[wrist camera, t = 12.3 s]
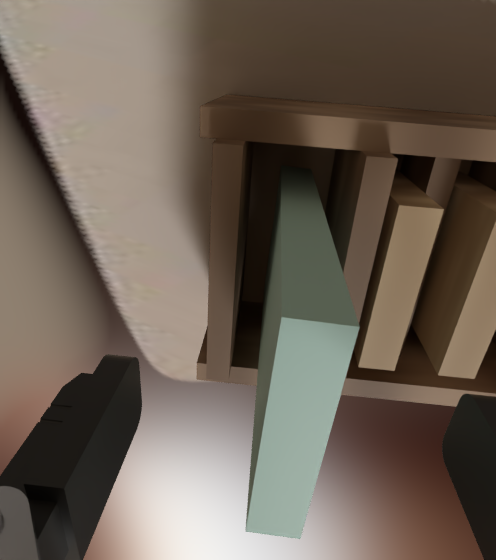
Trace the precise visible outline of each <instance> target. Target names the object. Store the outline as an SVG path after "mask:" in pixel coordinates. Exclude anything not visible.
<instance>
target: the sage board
mask: <svg viewBox="0 0 496 560" xmlns="http://www.w3.org/2000/svg"><path fill="white" fill-rule="evenodd" d="M359 328H360V326H359V323H358V320H357V317H356V313H355V310H354V307H353V304H352V300H351V297H350V294H349V291H348V288H347V284H346V281H345V278H344V275H343V271H342V268H341V265H340V262H339V258H338V255H337V252H336V249H335V245H334V242H333V239H332V236H331V232H330V229H329V226H328V223H327V219H326V216H325V213H324V210H323V206H322V203H321V200H320V197H319V193H318V190H317V187H316V184H315V180H314V177H313V174H312V171H311V169H307V168H298V167H290V166H281V170H280V178H279V185H278V192H277V199H276V206H275V214H274V221H273V228H272V235H271V243H270V250H269V257H268V264H267V271H266V279H265V286H264V298H263V311H262V324H261V337H260V350H259V363H258V376H257V389H256V403H255V415H254V416H255V417H254V429H253V441H252V454H251V467H250V480H249V493H248V508H247V519H246V532H253V533H262V534H269V535H275V536H283V537H290V538H298V539H300V538H301V534H302V531H303V527H304V523H305V520H306V516H307V513H308V509H309V506H310V502H311V499H312V495H313V491H314V488H315V484H316V481H317V477H318V473H319V470H320V466H321V463H322V459H323V456H324V452H325V449H326V445H327V442H328V438H329V434H330V431H331V427H332V424H333V420H334V417H335V413H336V409H337V406H338V402H339V399H340V395H341V392H342V388H343V385H344V381H345V378H346V374H347V370H348V367H349V363H350V360H351V356H352V353H353V349H354V345H355V342H356V338H357V335H358V331H359Z"/></svg>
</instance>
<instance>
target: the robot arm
mask: <svg viewBox="0 0 496 560" xmlns="http://www.w3.org/2000/svg"><path fill="white" fill-rule="evenodd" d="M141 407H142V398H141V384H140V371H139V361H138V359H137V358H136V357H127V356H118V355H109V354H108V355H105V356H104V357H103V359H102V360H101V362H100V364H99V365H98V367H97V368H96V370H95V371H94V373H93V374H87V373H81V374H79V375H78V376H77V377H76V378H74V379H73V380H71V381H70V382H69V383H67V384H66V385H65V386H63V387H62V389H61V390H60V392H59V393H58V394H57V396H56V397H55V399H54V400H53V402H52V403H51V406H50V408H48V409H47V410H46V412H45V413H44V414H43V416H42V417H41V420H40V422H38V423H37V424H36V426H35V427H34V429H33V430H32V432H31V433H30V434H29V436H28V437H27V439H26V440H25V441H24V443H23V444H22V446H21V447H20V449H19V450H18V451H17V453H16V454H15V456H14V457H13V459H12V460H11V461H10V463H9V464H8V466H7V467H6V468H5V470H4V471H3V473H2V474H1V476H0V560H83V558H84V556H85V553H86V551H87V549H88V546H89V544H90V541H91V539H92V536H93V534H94V532H95V529H96V527H97V524H98V522H99V519H100V517H101V514H102V512H103V510H104V507H105V505H106V502H107V500H108V498H109V495H110V493H111V490H112V488H113V485H114V483H115V481H116V478H117V476H118V473H119V471H120V469H121V466H122V464H123V461H124V459H125V457H126V454H127V451H128V449H129V447H130V444H131V442H132V440H133V437H134V435H135V432H136V430H137V427H138V424H139V420H140V416H141V409H142V408H141ZM442 445H443V446H442V452H443V459H444V462H445V465H446V467H447V470H448V472H449V475H450V477H451V480H452V482H453V485H454V487H455V490H456V492H457V495H458V497H459V499H460V502H461V504H462V507H463V509H464V512H465V514H466V516H467V519H468V521H469V524H470V526H471V529H472V531H473V533H474V536H475V538H476V541H477V543H478V545H479V548H480V551H481V553H482V555H483V558H484V560H496V397H494V396H485V395H476V394H463V395H462V396H461V398H460V400H459V402H458V404H457V406H456V409H455V411H454V414H453V416H452V418H451V421H450V423H449V426H448V428H447V430H446V433H445V435H444V438H443V444H442Z"/></svg>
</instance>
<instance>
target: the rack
mask: <svg viewBox="0 0 496 560" xmlns="http://www.w3.org/2000/svg"><path fill="white" fill-rule="evenodd" d="M200 137H204V138H216V140H215V141H214V142H213V147H212V183H211V220H210V257H209V294H208V326H207V330H206V333H205V337H204V340H203V344H202V347H201V350H200V354H199V357H198V361H197V380H206V381H216V382H226V383H235V384H245V385H255V386H257V376H258V363H259V350H260V337H261V324H262V311H263V298H264V286H265V279H266V271H267V264H268V257H269V250H270V243H271V235H272V228H273V221H274V214H275V206H276V199H277V192H278V185H279V178H280V170H281V166H290V167H298V168H307V169H311V171H312V174H313V177H314V180H315V184H316V187H317V190H318V193H319V197H320V200H321V203H322V206H323V210H324V213H325V216H326V219H327V223H328V226H329V229H330V232H331V236H332V239H333V242H334V245H335V249H336V252H337V255H338V258H339V262H340V265H341V268H342V271H343V275H344V278H345V281H346V284H347V288H348V291H349V294H350V297H351V300H352V304H353V307H354V310H355V313H356V317H357V320H358V323H359V321H360V317H361V313H362V309H363V304H364V300H365V296H366V292H367V288H368V283H369V279H370V275H371V271H372V267H373V262H374V258H375V254H376V250H377V246H378V241H379V237H380V233H381V229H382V225H383V220H384V216H385V212H386V208H387V204H388V199H389V195H390V191H391V187H392V183H393V178H394V174H395V170H396V169H397V170H398V171H399V172H401V173H402V174H403V175H404V176H405V177H407V178H408V179H409V180H410V181H411V182H412V183H414V184H415V185H416V186H417V187H418V188H420V189H421V190H422V191H423V192H424V193H425V194H427V195H428V196H429V197H430V198H431V199H433V200H434V201H435V202H436V203H437V204H438V205H440V206H441V207H442V208H443V209H444V211H443V215H442V218H441V221H440V224H439V228H438V231H437V234H436V237H435V241H434V244H433V247H432V250H431V254H430V257H429V260H428V263H427V267H426V270H425V273H424V276H423V279H422V283H421V286H420V289H419V292H418V296H417V299H416V302H415V305H414V309H413V312H412V315H411V318H410V322H409V325H408V328H407V331H406V335H405V338H404V341H403V344H402V348H401V351H400V354H399V357H398V361H397V364H396V367H395V370H394V371H391V370H381V369H371V368H362V367H358V364H357V360H356V356H355V352H354V349H353V353H352V356H351V360H350V363H349V367H348V370H347V374H346V378H345V381H344V385H343V388H342V392H341V395H351V396H361V397H370V398H379V399H389V400H400V401H408V402H418V403H429V404H437V405H448V406H457V404H458V402H459V400H460V398H461V396H462V395H463V394H476V395H485V396H494V397H496V330H495V332H494V335H493V337H492V339H491V342H490V344H489V346H488V349H487V351H486V353H485V356H484V358H483V360H482V362H481V365H480V367H479V369H478V372H477V374H476V376H475V379H470V378H460V377H450V376H440V375H437V373H436V371H435V369H434V367H433V365H432V363H431V361H430V359H429V357H428V355H427V353H426V351H425V349H424V347H423V345H422V344H421V342H420V340H419V338H418V336H417V334H416V332H415V330H414V328H413V326H412V324H411V321H412V318H413V315H414V312H415V309H416V305H417V302H418V299H419V296H420V292H421V289H422V286H423V283H424V280H425V276H426V273H427V270H428V267H429V264H430V260H431V257H432V254H433V251H434V247H435V244H436V241H437V238H438V235H439V231H440V228H441V225H442V222H443V218H444V215H445V212H446V209H447V206H448V202H449V199H450V196H451V193H452V189H453V186H454V183H455V180H456V177H457V173H458V172H462V173H464V174H466V175H468V176H469V177H471V178H473V179H475V180H477V181H478V182H480V183H482V184H484V185H485V186H487V187H489V188H491V189H493V190H494V191H496V116H486V115H473V114H461V113H449V112H436V111H424V110H412V109H399V108H387V107H374V106H362V105H350V104H337V103H325V102H313V101H300V100H288V99H276V98H263V97H251V96H238V95H225V96H222V97H220V98H218V99H215V100H213V101H211V102H208V103H206V104H204V105H201V106H200Z"/></svg>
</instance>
